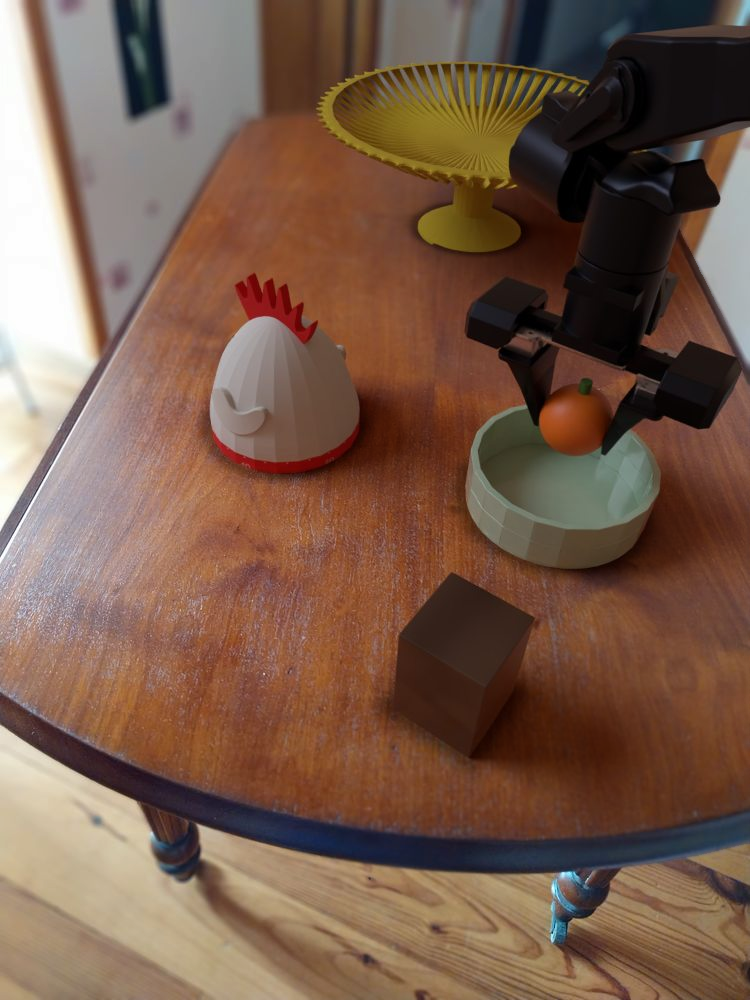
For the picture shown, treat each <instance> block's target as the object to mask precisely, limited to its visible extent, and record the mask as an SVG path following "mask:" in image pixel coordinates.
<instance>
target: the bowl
mask: <svg viewBox="0 0 750 1000" xmlns="http://www.w3.org/2000/svg"><path fill="white" fill-rule="evenodd" d="M472 442H473V443H472V445H471V448H470V452H469V460H468V465H467V473H466V478H465V485H464V489H465V490H464V491H465V503H466V507H467V510H468V512H469V514H470V517H471V519H472V520H473V522H474V523H475V525H476V526H477V528H478V529H479V530H480V531H481V532H482V533H483V535H484V536H486V538H488V539H489V540H490V541H491V542H492V543H493V544H495V546H498V547H499V548H500V549H502V550H503V551H505V552H507V553H508V554H511V555H513V556H514V557H516V558H519V559H521V560H523V561H527V562H528V563H529V562H530V563H532V564H536V565H540V566H543V567H548V568H553V569H554V568H556V569H565V570H566V569H569V570H577V569H588V568H594V567H598V566H601V565H606V564H608V563H611V562H613V561H615V560H617V559H618V558H620V557H622V556H624V555H625V554H627V552H629V550H631V549H632V548H633V547H634V546H635V544H636V543H637V542H638V541H639V538H640V536H641V534H642V533H643V532H644V530H645V528H646V525H647V523H648V520H649V518H650V515H651V513H652V510H653V508H654V506H655V503H656V501H657V499H658V496H659V494H660V492H661V491H660V490H661V477H662V476H661V475H662V472H661V469H660V467H659V465H658V462H657V460H656V457H655V454H654V452H653V450H652V449H651V448H650V447H649V446H648V445H647V444H646V442H644V440H643V439H642V438H641V437H640V436H639V435H638V433H636V432H635V431H633V430H632V429H630V430H628V431H627V432H626V433H625V434H624V435H623V436H622V437H621V438H620V439H619V441H618V442H617V443H616V444H615V445H614V446H613V448H612V449H611V450H610V451H609V452H608V453H607V455H606V456H604V455H602V454H601V448H602V446H601V447H600V448H599V449H597V450H596V451H594V452H592V453H590V454H587V455H583V456H569V455H564V454H562V453H559V452H557V451H556V450H554V449H553V448H552V447H551V446H550V445H548V443H547V442H546V441H545V439H544V438H543V436H542V433H541V430H540V426H539V427H537V426H535V425H534V424H533V421H532V419H531V416H530V413H529V410H528V408H527V405H526V404H522V405H517V406H512V407H509V408H507V409H505V410H503V411H501V412H499V413H497V414H495V415H493V416H491V417H490V418H489V419H488V420H487V421H486V422H485V423H484V424H483V425H482V426H481V427H480V428H479V429H478V431H477V432H476V434H475V436H474V439H473V441H472Z"/></svg>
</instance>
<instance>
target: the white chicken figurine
mask: <svg viewBox="0 0 750 1000" xmlns="http://www.w3.org/2000/svg"><path fill="white" fill-rule="evenodd" d="M234 288H235V292H236V294H237V297H238V299H239V301H240V303H241V306H242V308H243V310H244V312H245V314H246V317H247V318H248V321H247V322H245V323H244V324H243V325H242V326H241V327H240V328H239V330H238V331H237V332H236V333H235V334H233V335H232V336H231V339H230V341H229V342H228V343H227V345H226V347H225V349H224V351H223V352H222V354H221V357H220V359H219V363H218V366H217V369H216V372H215V377H214V381H213V386H212V391H211V394H210V402H209V418H210V422H211V423H210V425H211V431H212V435H213V436H212V437H213V442H215V444H216V445H217V447H218V448H219V450H220V451H221V453H222V454H223V455H224V456H226V457H227V458H229V460H231V461H232V462H234V463H235V464H238V465H240V466H243V467H245V468H248V469H250V470H254V471H257V472H264V473H270V474H292V473H295V474H297V473H302V472H306V471H310V470H315V469H317V468H321V467H323V466H325V465H327V464H329V463H331V462H333V461H336V460H337V459H339V458H340V457H341V456H342V455H343V454H344V453H346V452H347V451H348V450H349V449H350V448H351V447H352V446H353V444H354V442H355V440H356V439H357V437H358V435H359V430H360V417H361V416H360V414H361V413H360V412H361V411H360V410H361V409H360V401H359V397H358V392H357V390H356V386H355V384H354V381H353V379H352V376H351V373H350V371H349V368H348V366H347V364H346V359H347V350H346V348H345V347H344V345H342V344H336V343H335V341H333V340H332V338H331V337H330V336H329V335H328V334H327V333H326V332H325V331H324V330H323V329H322V328H321V327H320V326H319V325H318V324H319V320H318V319H317V320H315V321H313V320H311V319H309V318H307V317H306V316H304V315H303V313H304V307H305V303H304V301H301V302H299V303H298V304H296V305H294V306H293V307H292V302H291V296H290V289H289V286H288V283H286V282H285V283H283V284H282V285H280V286H279V287H278V288H277V292H276V287H275V281H274V278H273V277H270V278H269V279H267V280H266V281H265V282H264V283H263V286H262V288H261V285H260V282H259V279H258V277H257V274H256V273H255V272H253V273H251V274H249V275H247V276H246V283H245V282H244V281H243V280H240V281H238V282H237V283H235V284H234Z"/></svg>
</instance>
